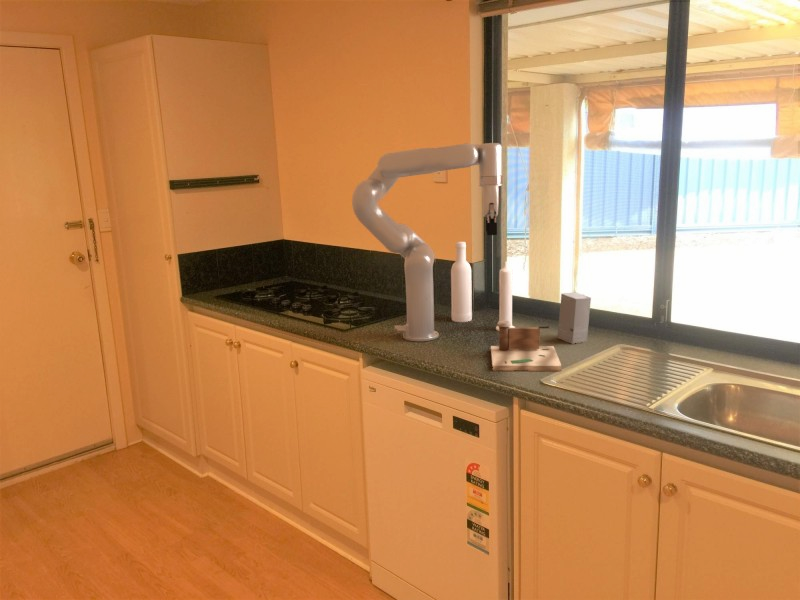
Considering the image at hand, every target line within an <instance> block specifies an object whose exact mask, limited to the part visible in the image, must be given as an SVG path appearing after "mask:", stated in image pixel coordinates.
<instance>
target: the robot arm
mask: <svg viewBox="0 0 800 600" xmlns="http://www.w3.org/2000/svg"><path fill="white" fill-rule="evenodd" d="M502 146H503V145H501V144H500V143H499V142H489V143H487V142H486V143H482V144H479V143H477V144H474V143H468V142H467V143H462V144H461V143H460V144H454V145H448V146H440V147H439V146H438V147H421V148H420V147H419V148H413V149H408V150H402V151H401V150H399V151H392V152H387V153H384V154H383V155H381V156H380V157H379V159H378V161H377V165H376V168H375V169H374V170H373V171H372V173H371V174H370V175H369V176H368V177H367V179H365V180H362V181H361V182H359V183H358V185H356V186H355V188H354V191H353V193H352V199H351V203H352V204H351V207H352V210H353V213H354V215H355V218H356V219H357V220H358V221H359V222H360V224H362V226H364V228H366V230H368V231H369V232H370V233H371V235H372V236H373V237H375V238H376V240H377V241H379V243H381V245H383V247H385V248H386V250H387V251H389V252H391V253H393V254H399V255H400V256H401V257H402V258H403V259H404V278H405V280H404V281H405V296H406V297H405V298H406V302H405V303H406V324H403V325H399V324H398V325H394V331H395V332H397V333H402V337H403V339H404V340H406V341H411V342H429V341H434V340H436V339H438V338H439V336H440V334H439V332H438V330H437V331H436V330H435V312H434V311H435V305H434V303H435V301H434V273H433V269H434V267H433V266H434V263H435V252H434V251H433V249H432V248H431V246H430V245H429V244H427V242H426V241H425V240H424V239H423V238H421V237H420V235H418V234H417V233H416V231H415V230H413V229H412V228H411V227H410V226H409V225H406V224H404V223H400V222H397V221H396V220H394V219H393V218H391V216H390V215H389V214H388V213H387V212H386V211H385V210H384V209H382V207H380V205H379V204H378V203H379V202H380V201H381V200H383V198H384V197H385V196H386V195H387V194H388V192H389V191H390V190H391V188H392V187H393V186H394V185H395V183H396V182H398V180H399V179H400V178H406V177H413V176H421V175H427V174H428V175H430V174H434V173H437V172H443V171H450V170H459V169H464V168H470V167H474V166H478V174H479V176H478V178H479V187H481V188H482V191H481V192H482V193H481V194H482V196H481V197H482V201H481V203H482V216H483V217H484V218H485V217H486V219H485V232H486V235H487V236H496V235H498V222H497V217H498V215H499V200H500V198H499V197H500V194H499V193H500V192H499V191H500V190H499V189H500V188H499V187H501V186H503V147H502Z"/></svg>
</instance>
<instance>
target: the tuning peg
mask: <svg viewBox="0 0 800 600" xmlns="http://www.w3.org/2000/svg"><path fill="white" fill-rule="evenodd" d="M497 326H499V331H498V346H499V350H503V351H505V350H509V349H539V346H540V334H541V333H540V332H541V331H540V330H541V329H550V326H549V325H548V326H543V325H542V326H538V327H537V326H536V327H526V326H525V327H515V328H509V326H510V322H509V321H499V320H498V321H497Z"/></svg>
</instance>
